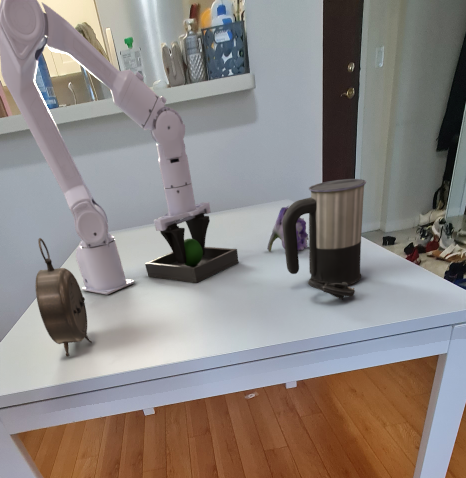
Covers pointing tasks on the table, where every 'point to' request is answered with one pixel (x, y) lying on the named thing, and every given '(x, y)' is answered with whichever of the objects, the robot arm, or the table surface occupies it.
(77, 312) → the alarm clock
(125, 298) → the table surface
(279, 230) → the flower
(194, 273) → the tray
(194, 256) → the green ball
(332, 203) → the milk frother
